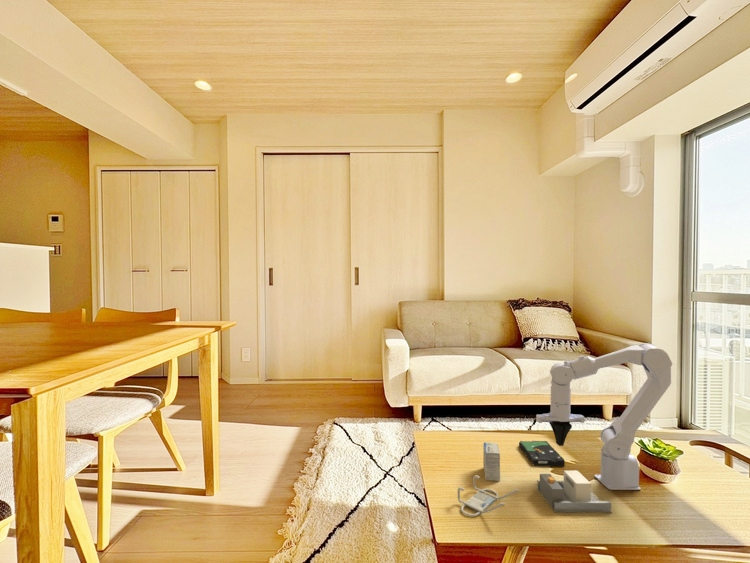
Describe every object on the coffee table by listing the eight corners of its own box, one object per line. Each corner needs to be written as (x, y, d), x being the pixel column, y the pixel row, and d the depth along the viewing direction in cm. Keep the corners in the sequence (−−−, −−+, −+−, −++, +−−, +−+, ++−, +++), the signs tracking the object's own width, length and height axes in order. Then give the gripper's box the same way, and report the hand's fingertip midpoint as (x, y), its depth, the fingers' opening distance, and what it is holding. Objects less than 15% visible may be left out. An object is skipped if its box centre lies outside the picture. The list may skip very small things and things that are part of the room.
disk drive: (565, 468, 128) (546, 447, 143) (565, 460, 128) (546, 440, 143) (534, 468, 128) (518, 447, 143) (534, 459, 128) (518, 439, 143)
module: (577, 490, 113) (577, 470, 113) (590, 505, 106) (591, 483, 106) (563, 490, 113) (563, 470, 113) (575, 505, 106) (576, 483, 106)
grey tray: (587, 489, 114) (587, 480, 114) (611, 512, 103) (611, 503, 103) (537, 489, 114) (537, 480, 114) (555, 512, 103) (555, 502, 103)
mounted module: (549, 490, 113) (550, 471, 112) (563, 507, 105) (563, 486, 104) (539, 490, 113) (539, 471, 112) (552, 507, 105) (552, 486, 104)
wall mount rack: (478, 486, 116) (478, 467, 116) (523, 505, 107) (523, 484, 107) (450, 509, 104) (450, 488, 104) (498, 532, 95) (498, 509, 95)
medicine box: (500, 481, 118) (500, 453, 118) (485, 480, 119) (485, 452, 119) (497, 469, 126) (497, 442, 126) (483, 467, 127) (483, 441, 127)
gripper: (576, 398, 127) (575, 439, 127) (532, 397, 127) (531, 439, 127) (588, 405, 120) (587, 448, 120) (542, 405, 120) (541, 448, 120)
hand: (559, 444), depth 123 cm, fingers closed
